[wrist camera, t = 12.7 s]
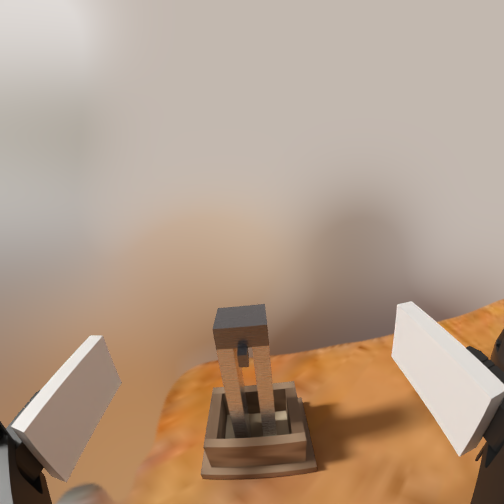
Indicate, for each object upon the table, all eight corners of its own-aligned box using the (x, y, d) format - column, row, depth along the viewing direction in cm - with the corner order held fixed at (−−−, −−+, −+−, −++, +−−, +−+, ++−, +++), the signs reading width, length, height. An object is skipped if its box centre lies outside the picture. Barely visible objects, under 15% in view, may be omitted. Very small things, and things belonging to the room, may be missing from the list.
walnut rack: (301, 402, 34) (301, 375, 33) (316, 471, 22) (319, 446, 21) (212, 409, 34) (206, 382, 33) (202, 478, 22) (191, 454, 21)
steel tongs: (275, 420, 30) (264, 304, 26) (278, 453, 24) (268, 332, 21) (238, 423, 30) (217, 308, 26) (237, 456, 25) (210, 336, 21)
